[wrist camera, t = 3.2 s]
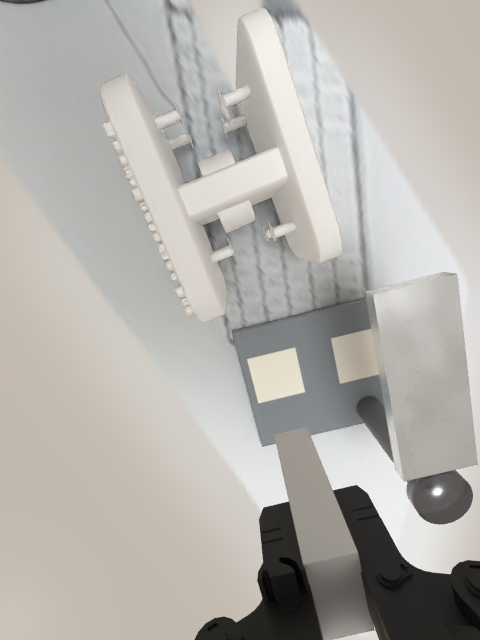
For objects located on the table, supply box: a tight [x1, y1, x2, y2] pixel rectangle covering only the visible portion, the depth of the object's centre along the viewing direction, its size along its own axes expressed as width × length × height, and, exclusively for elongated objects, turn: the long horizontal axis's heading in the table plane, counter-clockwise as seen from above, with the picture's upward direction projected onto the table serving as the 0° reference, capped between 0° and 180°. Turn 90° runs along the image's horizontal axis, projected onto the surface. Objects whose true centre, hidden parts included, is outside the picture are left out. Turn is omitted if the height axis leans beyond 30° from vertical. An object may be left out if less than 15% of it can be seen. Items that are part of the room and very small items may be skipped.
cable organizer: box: [100, 8, 342, 322], centre depth 25 cm, size 15×11×12 cm
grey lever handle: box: [365, 272, 478, 524], centre depth 21 cm, size 16×5×1 cm, turn 14°
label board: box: [233, 298, 409, 482], centre depth 29 cm, size 12×14×12 cm
